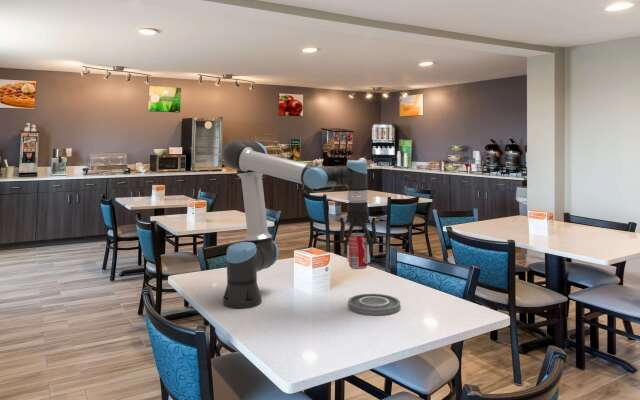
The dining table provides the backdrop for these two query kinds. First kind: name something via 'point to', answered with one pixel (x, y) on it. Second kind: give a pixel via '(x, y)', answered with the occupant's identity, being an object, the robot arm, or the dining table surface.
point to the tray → (374, 304)
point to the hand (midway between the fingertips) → (358, 261)
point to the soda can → (358, 251)
